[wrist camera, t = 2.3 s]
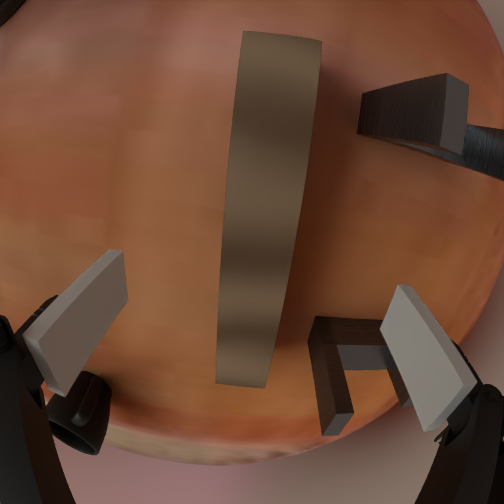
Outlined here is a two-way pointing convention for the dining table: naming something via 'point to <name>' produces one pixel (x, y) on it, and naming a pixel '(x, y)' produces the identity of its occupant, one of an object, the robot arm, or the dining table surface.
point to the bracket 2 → (433, 123)
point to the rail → (263, 198)
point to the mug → (81, 413)
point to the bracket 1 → (347, 365)
